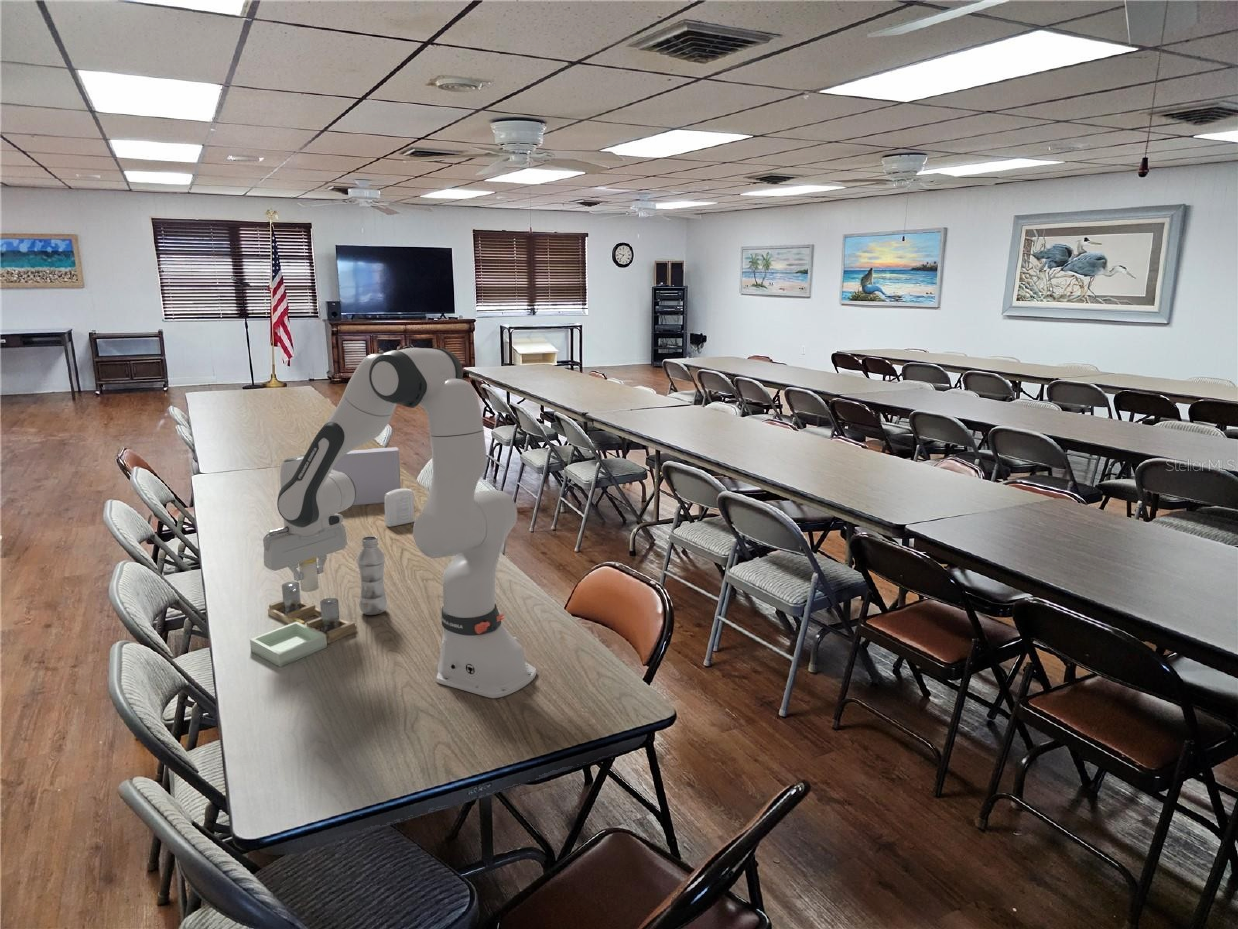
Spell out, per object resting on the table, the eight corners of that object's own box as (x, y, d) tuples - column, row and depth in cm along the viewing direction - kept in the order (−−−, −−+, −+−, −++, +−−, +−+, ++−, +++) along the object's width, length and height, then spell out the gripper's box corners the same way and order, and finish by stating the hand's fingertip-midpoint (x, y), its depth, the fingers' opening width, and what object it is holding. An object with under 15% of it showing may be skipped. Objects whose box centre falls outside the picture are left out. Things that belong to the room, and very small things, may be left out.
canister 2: (343, 631, 182) (341, 600, 180) (329, 637, 179) (326, 606, 177) (333, 626, 185) (331, 596, 183) (319, 632, 181) (316, 602, 179)
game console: (323, 504, 280) (319, 451, 275) (398, 497, 291) (396, 446, 286) (324, 508, 275) (320, 455, 270) (401, 501, 286) (399, 450, 281)
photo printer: (410, 519, 266) (409, 485, 263) (416, 522, 263) (415, 488, 260) (383, 525, 259) (381, 490, 256) (389, 528, 256) (387, 493, 253)
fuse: (322, 587, 184) (319, 556, 182) (307, 593, 181) (304, 561, 179) (312, 584, 187) (309, 553, 185) (297, 589, 183) (294, 558, 181)
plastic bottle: (359, 609, 195) (354, 535, 190) (386, 605, 197) (382, 533, 192) (360, 619, 189) (355, 544, 184) (388, 616, 191) (384, 541, 186)
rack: (356, 631, 182) (356, 622, 182) (328, 643, 176) (327, 633, 176) (296, 604, 196) (295, 595, 196) (268, 614, 190) (267, 605, 189)
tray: (326, 647, 175) (326, 635, 174) (280, 667, 165) (278, 654, 165) (297, 633, 181) (296, 621, 180) (250, 651, 172) (249, 639, 171)
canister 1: (304, 613, 191) (302, 584, 189) (290, 619, 188) (287, 589, 186) (295, 609, 193) (293, 580, 191) (281, 614, 190) (278, 585, 188)
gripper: (270, 535, 170) (276, 593, 173) (348, 514, 186) (352, 567, 189) (255, 530, 173) (261, 586, 177) (333, 509, 190) (337, 561, 193)
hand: (309, 576), depth 183 cm, fingers closed on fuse, 4 cm apart
